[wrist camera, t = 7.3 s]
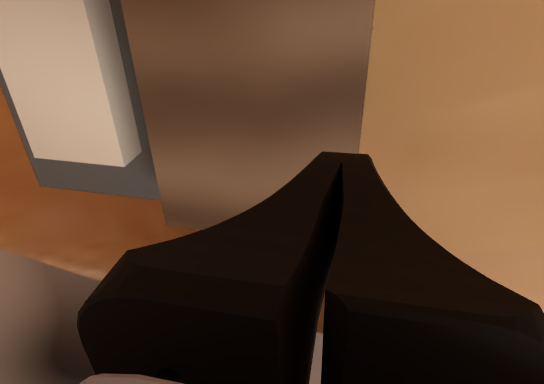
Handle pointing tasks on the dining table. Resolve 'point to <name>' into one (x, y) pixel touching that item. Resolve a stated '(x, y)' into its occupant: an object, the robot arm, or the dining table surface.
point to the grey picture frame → (96, 177)
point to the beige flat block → (68, 80)
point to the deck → (245, 95)
